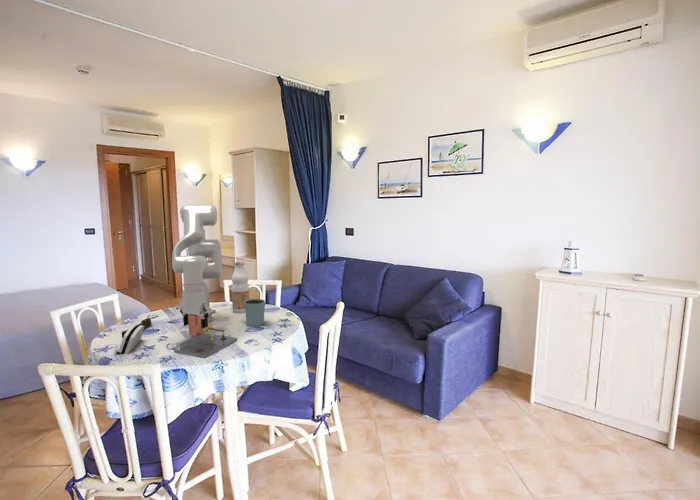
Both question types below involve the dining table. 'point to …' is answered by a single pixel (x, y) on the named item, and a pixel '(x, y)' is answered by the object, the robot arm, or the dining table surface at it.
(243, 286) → the fruit juice
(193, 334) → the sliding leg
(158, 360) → the dining table surface
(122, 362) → the dining table surface
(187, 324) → the robot arm
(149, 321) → the hand tool
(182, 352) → the grey clamp fixture plate
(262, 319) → the green cup
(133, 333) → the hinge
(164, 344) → the dining table surface
